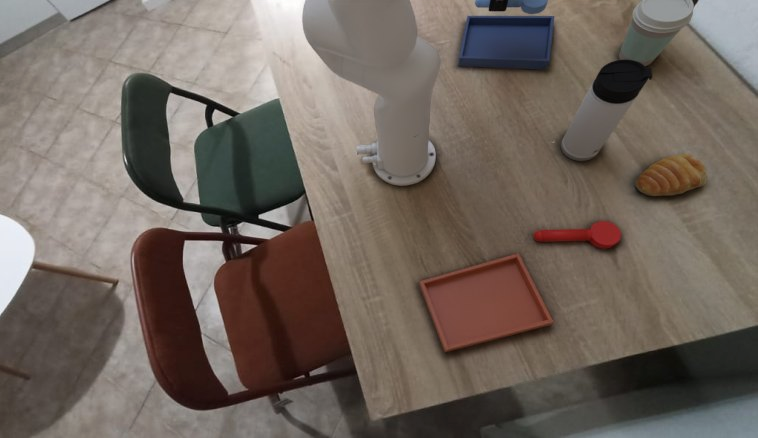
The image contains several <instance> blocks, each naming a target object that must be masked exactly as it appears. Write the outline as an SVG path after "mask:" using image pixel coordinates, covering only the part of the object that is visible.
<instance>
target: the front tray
mask: <svg viewBox="0 0 758 438" xmlns="http://www.w3.org/2000/svg"><path fill="white" fill-rule="evenodd" d="M419 287H420V291H421V293H422V295H423V298H424V300H425V303H426V306H427V310H428V311H429V314H430V317H431V319H432V322H433V325H434V328H435V330H436V333H437V335H438V338H439V342H440V343H441V346H442V348H443V352H444V353H448V352H451V351H455V350H459V349H463V348H467V347H471V346H474V345H478V344H483V343H486V342H490V341H494V340H497V339H502V338H505V337H510V336H513V335H517V334H521V333H524V332H528V331H532V330H536V329H540V328H544V327H548V326H550V325H552V324H554V320H553V318H552V316H551V314H550V311H549V310H548V308H547V306H546V304H545V302H544V300H543V298H542V296H541V294H540V292H539V289H538V288H537V286H536V285H535V282H534V280H533V279H532V276H531V274H530V272H529V271H528V268H527V266H526V264H525V262H524V259H522V257H521V254H520V253H519V252H518V253H514V254H511V255H507V256H503V257H500V258H497V259H492V260H490V261H486V262H482V263H479V264H475V265H472V266H469V267H464V268H461V269H458V270H455V271H450V272H446V273H444V274H443V273H442V274H440V275H437V276H433V277H429V278H426V279H421V280H420V281H419Z"/></svg>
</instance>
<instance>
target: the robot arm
mask: <svg viewBox="0 0 758 438" xmlns="http://www.w3.org/2000/svg"><path fill="white" fill-rule="evenodd" d="M507 4H508V0H490V4H489V8H488V12H506V11H507V9H508V7H507ZM301 21H302V31H303V34H304V37H305V39H306V42H307V43H308V44H309V46H310V47H311V49H312V50H313V51H314V52H315V53H316V55H317V56H318V57H319V59H321V61H322V62H323V64H325V66H326V67H327V68H328V69H329V70H330V71H331V72H332V73H333V75H334V74H335V76H338V77H339V78H341V79H342V80H345V81H347V82H349V83H351V84H354V85H356V86H358V87H361V88H364V89H366V90H368V91H370V92H372V93H374V94H377V97H376V99H375V101H374V104H373V118H374V125H375V131H376V133H375V134H376V142H372V143H371V144H360V145H359V144H358V145H356V155H358V156H359V155H360V156H361V155H367V154H372V156H362V164H369V163H370V164H371V163H372V167H373V170H374V171H375V174H376V175H377V176H378V177H379V178H380V179H381V180H383V181H384V182H386V183H388V184H389V185H394V186H400V187H402V186H404V187H405V186H410V185H411V186H412V185H415V184H418V183H420V182H422V181H423V180H425V179H426V178H427V177H428V176H429V175H430V174H431V173H432V171H433V169H434V167H435V165H436V160H437V154H436V149H435V146H434V145H433V143H432V142H431V140H430V122H431V121H430V120H431V107H432V106H431V105H432V97H433V92H434V88H435V86H436V85H435V84H436V82H437V79H438V76H439V72H440V69H441V68H440V67H441V56H440V52H439V51H438V49H437V48H436V47H435V46H434V44H432V43H430V42H429V41H427V40H426V39H424V38H421V37H419V36H418V23H417V19H416V15H415V12H414V8H413V6H412V3H411V0H304V3H303V7H302V15H301Z"/></svg>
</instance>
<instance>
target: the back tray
mask: <svg viewBox="0 0 758 438" xmlns="http://www.w3.org/2000/svg"><path fill="white" fill-rule="evenodd" d="M554 25H555V15H466V21H465V24H464V31H463V34H462V35H463V36H462V40H461V46H460V50H459V57H458V64H457V66H458V67H476V68H497V69H519V70H520V69H522V70H547V69H548V66H549V63H550V60H551V51H552V41H553V35H554V34H553V33H554Z"/></svg>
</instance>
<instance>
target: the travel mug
mask: <svg viewBox="0 0 758 438" xmlns="http://www.w3.org/2000/svg"><path fill="white" fill-rule="evenodd" d="M652 78H653V70H652V68H651V67H646V66H644V65H643V64H641V63H640V62H637V61H634V60H626V59H625V60H620V59H616V60H613V61H611V62H610V61H609V62H608V63H606V64H605V65H603V66H602V67H601V68H600V70H599V72H598V73H597V75H596V76H595V79H594V80H592V83H591V85H590V87H589V89H588V91H587V93H586V95H585V96H584V98H583V100H582V102H581V104H580V106H579V108H578V109H577V111H576V113H575V115H574V117H573V119H572V121H571V123H570V124H569V127H568V129H567V130H566V131H565V134H564V136H563V138H562V139H561V142H560V149H561V152H562V153H563V154H564V155H565V156H566V158H569V159H571V160H573V161H579V162H584V161H589V160H592V159H594V158H595V157H597V155H598V154H599V153H600V152H601V150H602V148H603V146H604V145H605V144H606V142H607V141H608V139H609V138H610V137H611V135H612V133H613V132H614V131H615V130H616V128H617V126H618V125H619V123H620V122H621V121H622V119H623V117H624V116H625V115H626V113H627V112H628V110H629V109H630V108H631V106H632V104H633V103H634V101H635V100H636V99H637V97H638V96H639V94H640V92H641V91H642V89H643V88H644V86H645V85H646V84H647V82H648V80H649V81H651V80H652Z"/></svg>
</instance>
